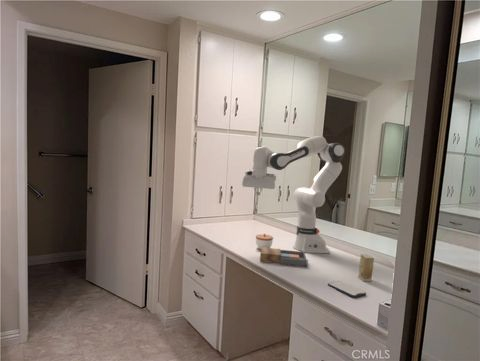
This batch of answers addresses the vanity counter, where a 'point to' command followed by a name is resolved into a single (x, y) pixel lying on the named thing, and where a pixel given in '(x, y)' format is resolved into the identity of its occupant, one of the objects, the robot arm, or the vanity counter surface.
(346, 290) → the phone case
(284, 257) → the tile
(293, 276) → the vanity counter surface
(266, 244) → the lidded jar
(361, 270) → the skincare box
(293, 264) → the tray
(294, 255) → the tile
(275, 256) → the cardboard box
